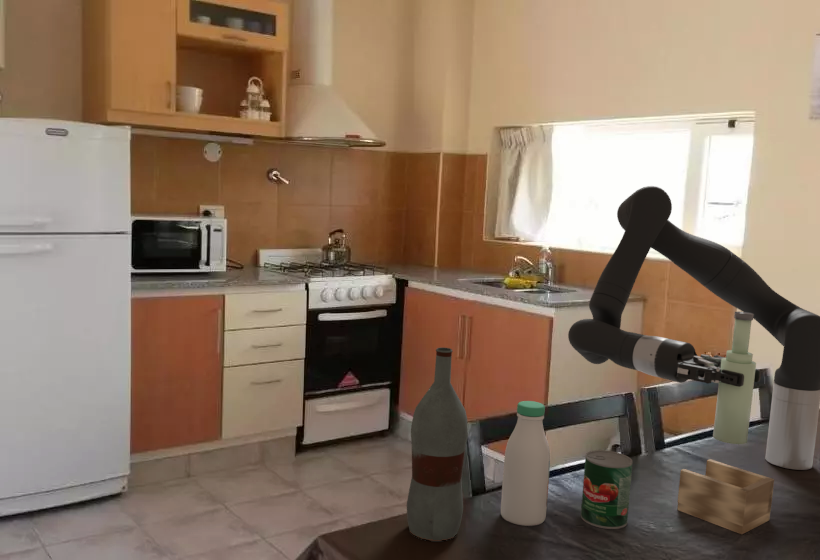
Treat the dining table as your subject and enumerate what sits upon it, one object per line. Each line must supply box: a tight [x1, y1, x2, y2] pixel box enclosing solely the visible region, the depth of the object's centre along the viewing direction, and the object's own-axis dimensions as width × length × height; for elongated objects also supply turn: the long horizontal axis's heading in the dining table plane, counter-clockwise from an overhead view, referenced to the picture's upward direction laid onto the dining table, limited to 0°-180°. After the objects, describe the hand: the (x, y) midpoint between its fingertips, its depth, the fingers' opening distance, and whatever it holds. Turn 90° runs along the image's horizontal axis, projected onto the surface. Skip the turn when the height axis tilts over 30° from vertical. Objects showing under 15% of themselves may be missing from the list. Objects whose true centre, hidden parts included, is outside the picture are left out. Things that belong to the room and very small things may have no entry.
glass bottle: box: [712, 311, 757, 445], centre depth 137 cm, size 6×6×22 cm
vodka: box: [406, 347, 469, 540], centre depth 125 cm, size 9×9×30 cm
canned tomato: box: [580, 449, 633, 530], centre depth 135 cm, size 8×8×11 cm
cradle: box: [677, 458, 775, 535], centre depth 139 cm, size 12×10×8 cm
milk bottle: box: [500, 400, 551, 527], centre depth 133 cm, size 8×8×20 cm
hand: (751, 378), depth 135 cm, fingers closed on glass bottle, 5 cm apart
